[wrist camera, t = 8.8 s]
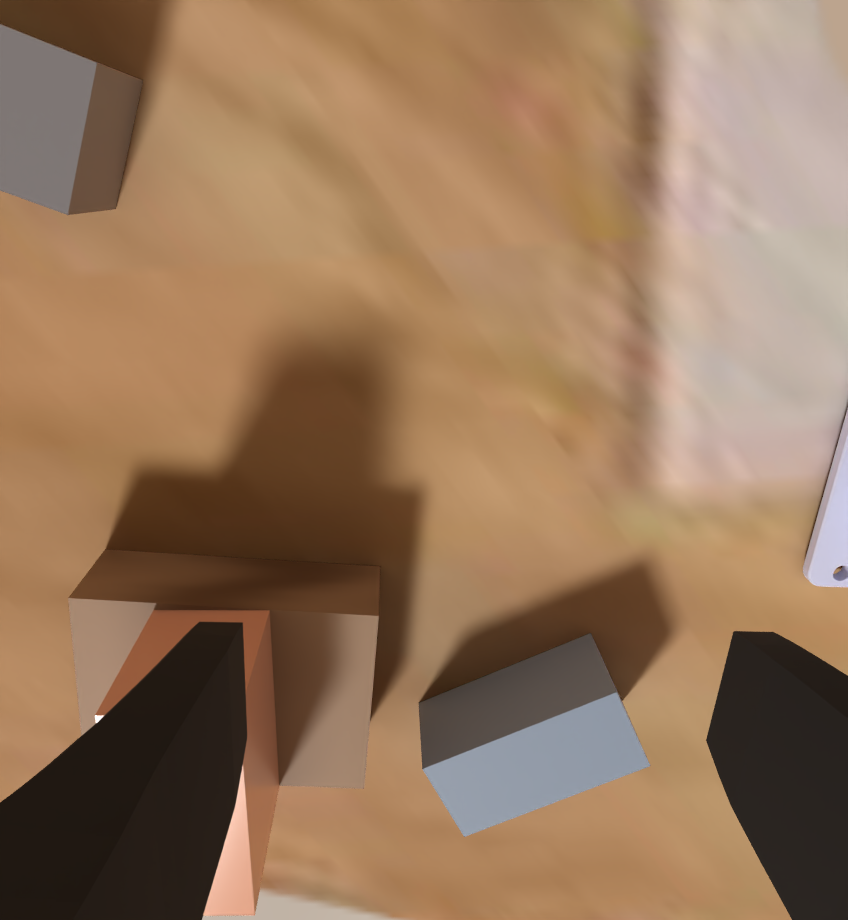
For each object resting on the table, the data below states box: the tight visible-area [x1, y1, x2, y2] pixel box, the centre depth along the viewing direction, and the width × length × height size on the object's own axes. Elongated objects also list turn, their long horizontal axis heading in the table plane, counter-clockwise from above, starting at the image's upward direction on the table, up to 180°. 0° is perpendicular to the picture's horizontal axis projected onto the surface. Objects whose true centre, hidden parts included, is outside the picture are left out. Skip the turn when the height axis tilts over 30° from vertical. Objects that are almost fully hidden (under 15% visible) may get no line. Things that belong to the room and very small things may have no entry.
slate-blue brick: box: [419, 633, 650, 837], centre depth 23 cm, size 6×3×3 cm, turn 115°
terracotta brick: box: [95, 610, 279, 916], centre depth 18 cm, size 3×6×4 cm, turn 178°
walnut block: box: [68, 549, 380, 789], centre depth 22 cm, size 8×6×3 cm
